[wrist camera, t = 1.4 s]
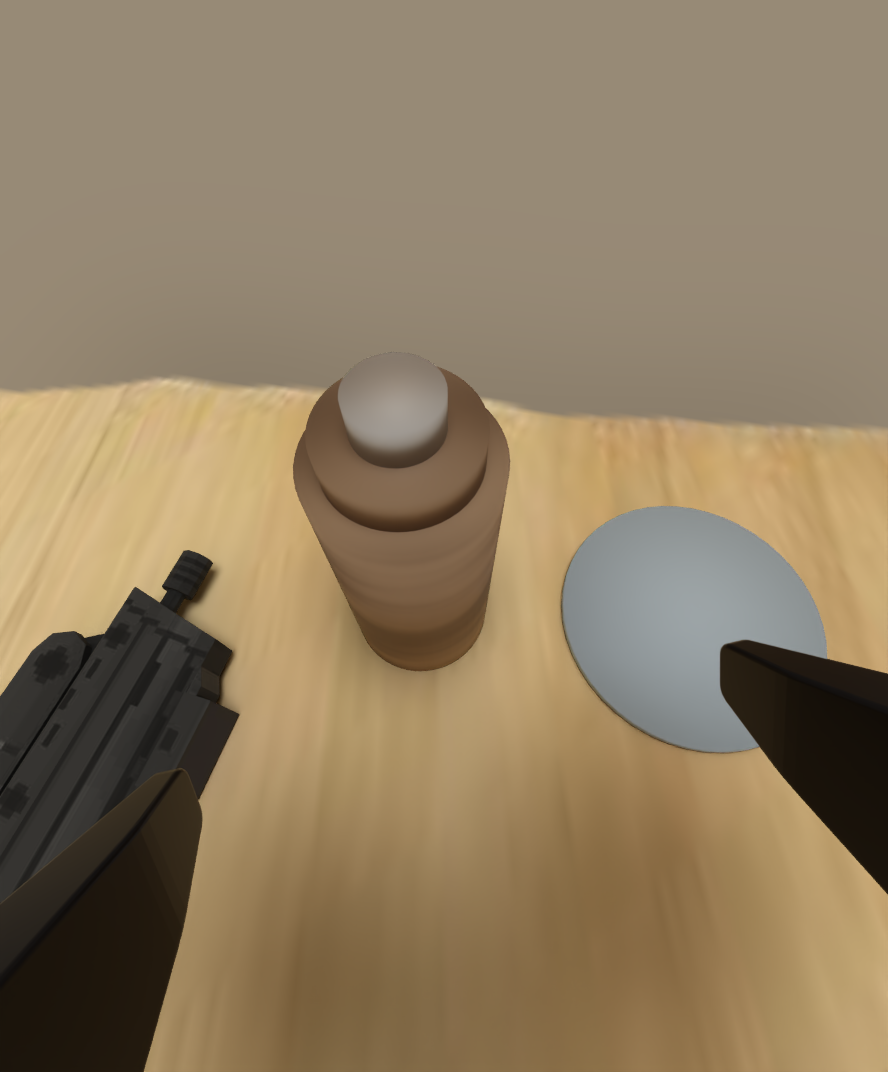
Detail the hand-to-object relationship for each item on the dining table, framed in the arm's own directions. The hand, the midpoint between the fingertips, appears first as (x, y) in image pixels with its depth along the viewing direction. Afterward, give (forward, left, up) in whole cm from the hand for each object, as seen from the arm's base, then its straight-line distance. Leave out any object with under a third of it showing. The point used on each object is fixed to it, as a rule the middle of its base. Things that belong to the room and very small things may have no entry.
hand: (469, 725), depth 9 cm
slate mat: (+11, -5, -13) cm, 18 cm away
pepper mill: (+5, +5, -13) cm, 15 cm away
